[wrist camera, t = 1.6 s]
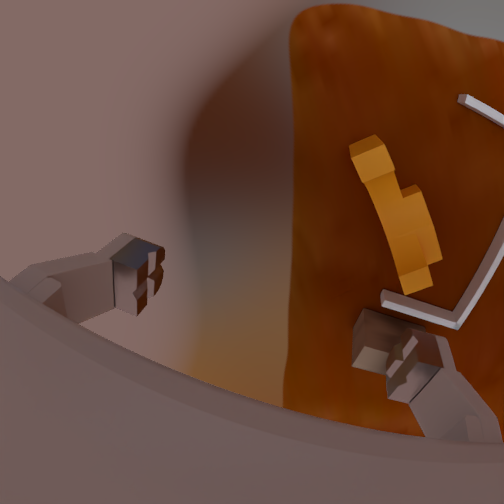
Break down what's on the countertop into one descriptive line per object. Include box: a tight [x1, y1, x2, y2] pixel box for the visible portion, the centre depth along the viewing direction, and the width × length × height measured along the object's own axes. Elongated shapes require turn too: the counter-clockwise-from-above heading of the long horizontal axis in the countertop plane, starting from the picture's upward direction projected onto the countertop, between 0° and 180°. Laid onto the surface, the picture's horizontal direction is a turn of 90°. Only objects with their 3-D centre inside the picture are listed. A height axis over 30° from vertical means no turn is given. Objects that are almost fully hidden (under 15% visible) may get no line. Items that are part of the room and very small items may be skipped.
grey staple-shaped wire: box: [380, 94, 504, 330], centre depth 25 cm, size 10×22×2 cm, turn 168°
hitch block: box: [352, 308, 426, 386], centre depth 29 cm, size 8×3×9 cm, turn 78°
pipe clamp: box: [349, 134, 443, 295], centre depth 24 cm, size 12×4×6 cm, turn 30°
